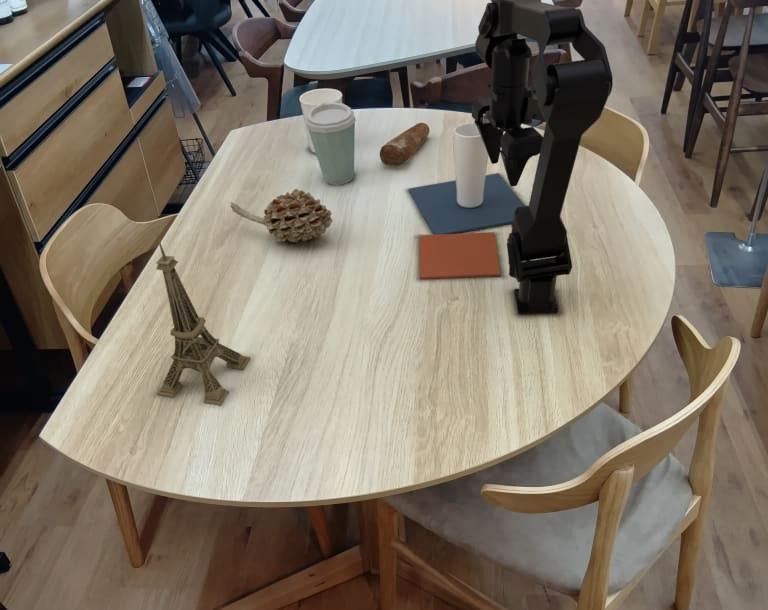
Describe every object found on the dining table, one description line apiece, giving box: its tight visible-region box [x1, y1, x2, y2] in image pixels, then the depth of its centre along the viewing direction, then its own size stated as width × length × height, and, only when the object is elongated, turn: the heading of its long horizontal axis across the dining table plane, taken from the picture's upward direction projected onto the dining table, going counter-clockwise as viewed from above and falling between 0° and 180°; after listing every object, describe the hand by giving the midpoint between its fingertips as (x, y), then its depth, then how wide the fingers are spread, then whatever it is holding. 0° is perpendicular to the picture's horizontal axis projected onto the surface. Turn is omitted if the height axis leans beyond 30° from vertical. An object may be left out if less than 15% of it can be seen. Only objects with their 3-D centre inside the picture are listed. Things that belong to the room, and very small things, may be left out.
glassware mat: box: [408, 172, 526, 235], centre depth 135 cm, size 20×20×1 cm
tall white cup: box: [452, 122, 489, 208], centre depth 130 cm, size 7×7×15 cm
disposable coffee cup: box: [305, 102, 357, 186], centre depth 142 cm, size 11×11×15 cm
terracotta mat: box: [419, 231, 501, 280], centre depth 122 cm, size 14×14×1 cm
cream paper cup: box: [298, 88, 343, 154], centre depth 156 cm, size 10×10×12 cm
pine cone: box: [229, 188, 333, 243], centre depth 127 cm, size 22×10×10 cm, turn 73°
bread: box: [379, 122, 431, 167], centre depth 153 cm, size 6×19×6 cm, turn 153°
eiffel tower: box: [155, 231, 251, 406], centre depth 93 cm, size 11×11×25 cm
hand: (503, 174), depth 116 cm, fingers open, 9 cm apart
